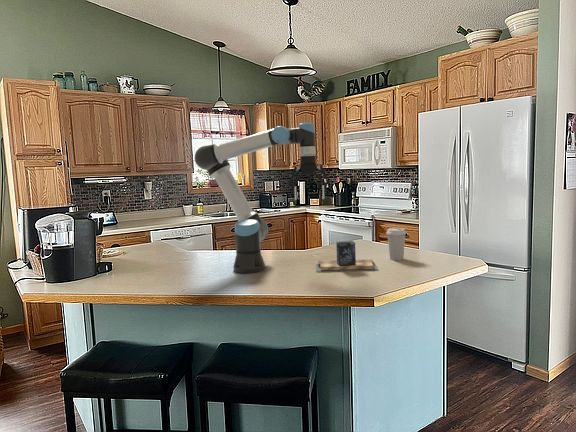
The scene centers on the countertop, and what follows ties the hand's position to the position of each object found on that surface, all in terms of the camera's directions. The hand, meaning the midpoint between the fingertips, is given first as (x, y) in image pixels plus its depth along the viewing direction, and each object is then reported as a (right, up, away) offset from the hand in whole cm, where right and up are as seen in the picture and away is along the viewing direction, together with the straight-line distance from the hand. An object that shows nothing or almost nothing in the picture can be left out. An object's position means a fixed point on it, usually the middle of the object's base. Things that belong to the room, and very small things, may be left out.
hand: (309, 199), depth 215 cm
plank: (+17, -32, -11) cm, 38 cm away
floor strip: (+17, -32, -4) cm, 36 cm away
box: (+16, -31, -11) cm, 37 cm away
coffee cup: (+44, -30, +4) cm, 53 cm away
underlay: (+17, -32, -8) cm, 37 cm away
